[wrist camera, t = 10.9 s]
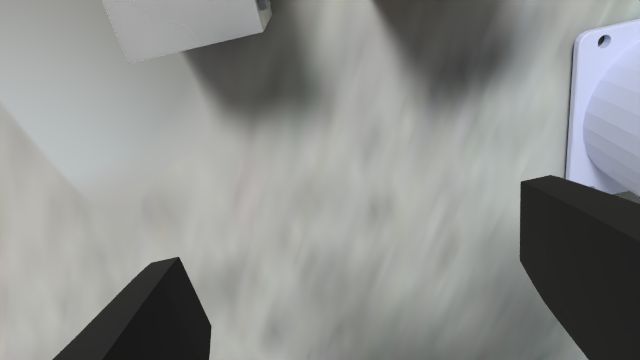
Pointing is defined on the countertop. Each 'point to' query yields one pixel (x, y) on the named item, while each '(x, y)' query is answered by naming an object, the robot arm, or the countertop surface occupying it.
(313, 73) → the countertop surface
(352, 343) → the countertop surface
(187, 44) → the block
